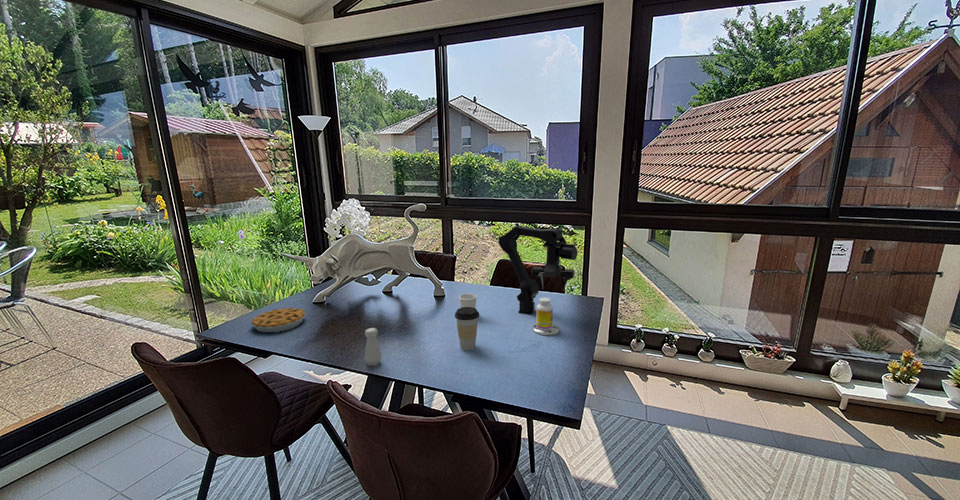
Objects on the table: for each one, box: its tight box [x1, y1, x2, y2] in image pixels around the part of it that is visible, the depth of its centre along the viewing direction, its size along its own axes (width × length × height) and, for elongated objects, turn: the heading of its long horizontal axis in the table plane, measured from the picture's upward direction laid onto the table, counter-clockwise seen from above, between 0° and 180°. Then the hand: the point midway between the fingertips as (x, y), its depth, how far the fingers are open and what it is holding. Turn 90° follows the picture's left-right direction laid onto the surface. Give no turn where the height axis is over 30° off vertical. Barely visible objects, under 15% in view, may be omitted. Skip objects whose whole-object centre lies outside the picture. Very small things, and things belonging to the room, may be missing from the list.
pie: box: [250, 307, 307, 333], centre depth 176 cm, size 22×22×5 cm
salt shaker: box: [364, 327, 382, 367], centre depth 138 cm, size 6×6×13 cm
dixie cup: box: [458, 293, 478, 308], centre depth 180 cm, size 8×8×10 cm
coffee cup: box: [454, 307, 480, 351], centre depth 149 cm, size 9×9×15 cm
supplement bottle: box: [535, 297, 554, 331], centre depth 163 cm, size 7×7×13 cm
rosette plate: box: [532, 323, 560, 337], centre depth 164 cm, size 11×11×1 cm
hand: (552, 290), depth 175 cm, fingers open, 9 cm apart
